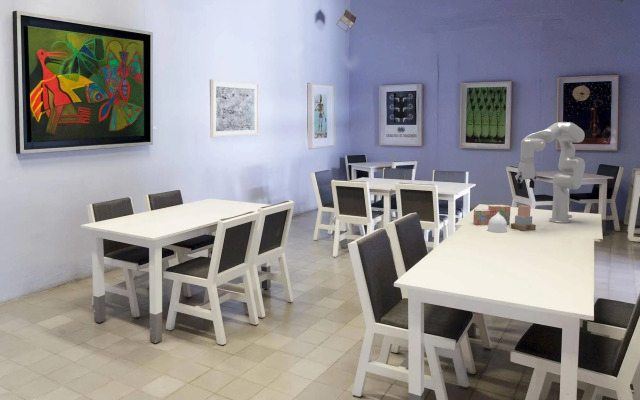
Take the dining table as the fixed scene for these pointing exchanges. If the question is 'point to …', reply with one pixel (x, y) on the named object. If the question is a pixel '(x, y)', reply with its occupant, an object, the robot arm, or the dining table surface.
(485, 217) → the stack of blocks
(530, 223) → the grey block
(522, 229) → the plinth
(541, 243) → the dining table surface
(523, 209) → the terracotta block
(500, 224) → the teardrop
